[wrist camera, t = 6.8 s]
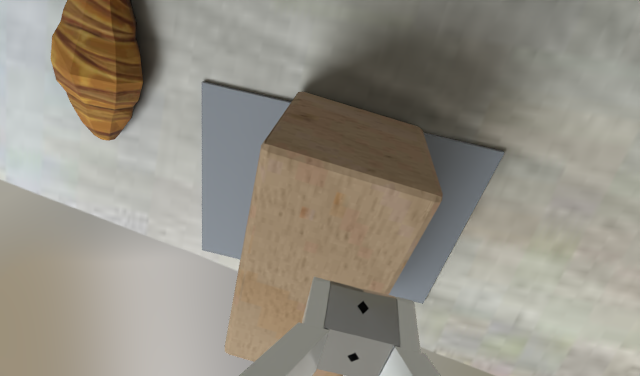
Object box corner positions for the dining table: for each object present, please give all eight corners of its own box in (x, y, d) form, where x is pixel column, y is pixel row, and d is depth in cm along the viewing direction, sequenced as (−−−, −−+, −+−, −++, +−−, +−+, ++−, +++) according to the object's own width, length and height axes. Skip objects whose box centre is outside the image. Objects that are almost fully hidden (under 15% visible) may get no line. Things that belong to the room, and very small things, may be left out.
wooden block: (260, 140, 17) (221, 355, 28) (448, 197, 17) (338, 388, 28) (298, 87, 26) (257, 267, 36) (424, 126, 26) (346, 294, 36)
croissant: (153, 146, 31) (118, 172, 27) (80, 119, 30) (33, 141, 26) (165, -18, 24) (120, -17, 19) (71, -56, 23) (3, -64, 19)
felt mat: (503, 151, 26) (504, 152, 26) (422, 301, 36) (422, 303, 35) (203, 81, 27) (201, 82, 26) (203, 248, 36) (202, 250, 36)
